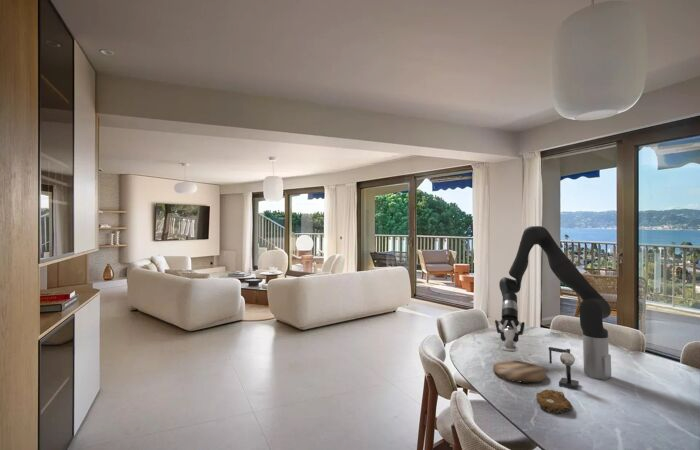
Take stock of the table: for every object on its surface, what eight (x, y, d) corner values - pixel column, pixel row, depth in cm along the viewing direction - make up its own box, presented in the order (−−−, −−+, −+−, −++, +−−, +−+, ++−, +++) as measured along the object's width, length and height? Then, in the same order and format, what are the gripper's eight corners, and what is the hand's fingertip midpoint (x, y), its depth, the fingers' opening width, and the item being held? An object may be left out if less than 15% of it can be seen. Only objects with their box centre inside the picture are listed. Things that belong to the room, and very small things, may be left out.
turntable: (555, 374, 159) (555, 370, 159) (528, 386, 147) (528, 382, 147) (510, 360, 176) (510, 357, 176) (483, 370, 164) (483, 366, 164)
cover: (520, 350, 177) (519, 327, 177) (512, 352, 173) (511, 329, 174) (507, 346, 183) (506, 324, 183) (499, 349, 179) (498, 326, 179)
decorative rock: (533, 395, 142) (539, 415, 128) (532, 385, 142) (538, 403, 128) (566, 398, 138) (577, 418, 124) (565, 387, 138) (576, 406, 124)
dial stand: (578, 384, 150) (577, 349, 150) (576, 389, 146) (574, 352, 146) (551, 378, 157) (550, 344, 157) (548, 383, 152) (547, 347, 152)
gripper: (494, 305, 188) (492, 335, 177) (525, 307, 182) (525, 338, 171) (495, 314, 193) (494, 343, 182) (525, 316, 187) (526, 346, 176)
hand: (509, 340), depth 176 cm, fingers closed on cover, 5 cm apart
